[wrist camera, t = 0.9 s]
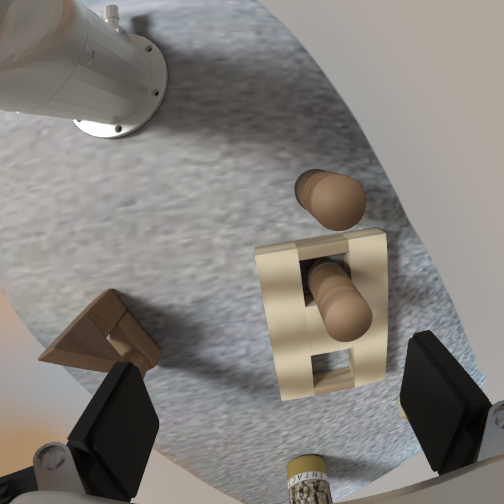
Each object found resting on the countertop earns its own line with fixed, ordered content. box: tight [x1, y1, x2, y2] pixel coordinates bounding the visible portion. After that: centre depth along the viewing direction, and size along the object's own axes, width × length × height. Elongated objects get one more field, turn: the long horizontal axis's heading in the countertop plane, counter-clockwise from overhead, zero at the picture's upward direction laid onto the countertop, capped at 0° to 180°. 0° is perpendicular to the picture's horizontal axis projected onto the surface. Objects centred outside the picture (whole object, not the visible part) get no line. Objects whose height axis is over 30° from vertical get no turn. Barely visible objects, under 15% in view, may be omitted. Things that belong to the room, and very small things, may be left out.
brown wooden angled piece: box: [38, 289, 162, 379], centre depth 30 cm, size 4×11×18 cm, turn 33°
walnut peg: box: [294, 169, 366, 231], centre depth 27 cm, size 4×4×12 cm
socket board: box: [255, 227, 388, 401], centre depth 36 cm, size 20×14×3 cm
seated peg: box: [307, 257, 373, 342], centre depth 30 cm, size 4×4×12 cm
